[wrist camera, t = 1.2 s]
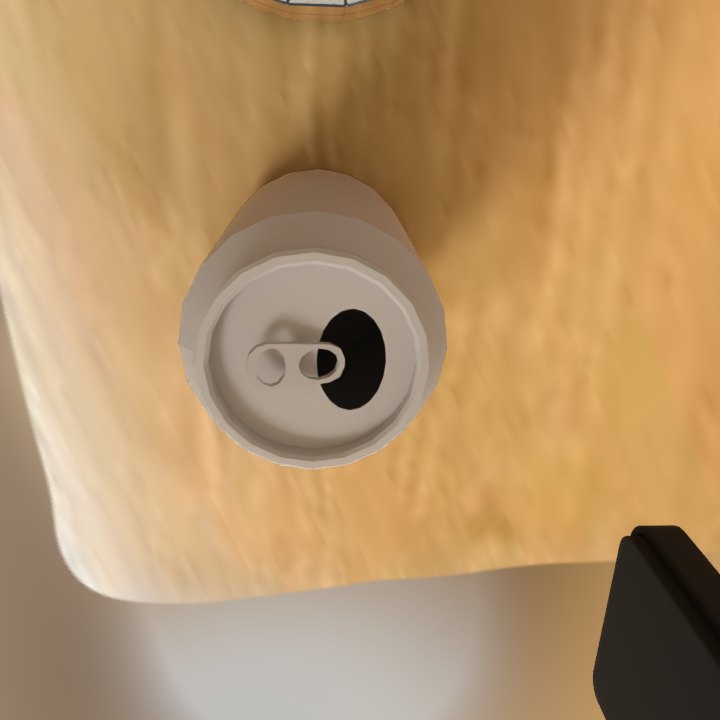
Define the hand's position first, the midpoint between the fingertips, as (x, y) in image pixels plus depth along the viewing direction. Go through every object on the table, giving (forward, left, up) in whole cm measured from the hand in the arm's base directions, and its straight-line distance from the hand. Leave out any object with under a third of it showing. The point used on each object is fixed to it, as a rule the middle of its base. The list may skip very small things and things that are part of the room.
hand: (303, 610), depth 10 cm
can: (0, 0, -20) cm, 20 cm away
